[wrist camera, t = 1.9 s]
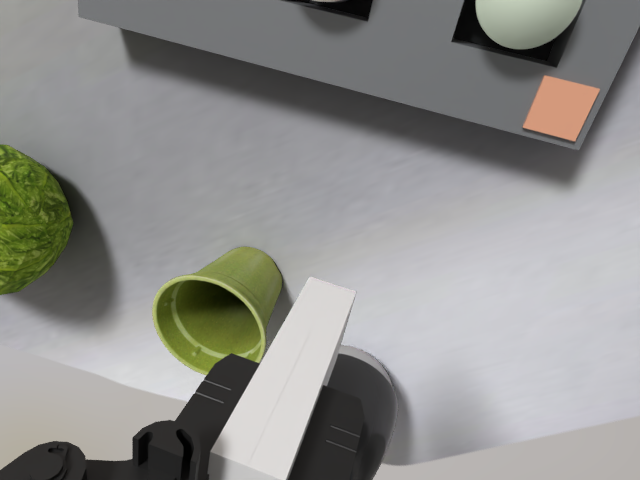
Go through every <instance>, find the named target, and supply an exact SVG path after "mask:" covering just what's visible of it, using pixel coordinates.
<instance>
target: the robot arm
mask: <svg viewBox="0 0 640 480" xmlns="http://www.w3.org/2000/svg"><path fill="white" fill-rule="evenodd" d="M355 295H356V291H353V290H350V289H346V288H343V287H340V286H337V285H334V284H331V283H328V282H325V281H322V280H319V279H316V278H313V277H309V279H308V280H307V282H306V284H305V286H304V287H303V289H302V291H301V293H300V294H299V296H298V298H297V300H296V302H295V303H294V305H293V307H292V309H291V310H290V312H289V314H288V316H287V317H286V319H285V321H284V323H283V324H282V326H281V328H280V330H279V331H278V333H277V335H276V337H275V338H274V340H273V342H272V344H271V346H270V347H269V349H268V351H267V353H266V354H265V356H264V358H263V360H262V361H261V363H257V362H255V361H252V360H249V359H246V358H244V357H241V356H238V355H235V354H233V353H231V354H229V355H227V356H226V357H224V358H223V359H221V360H220V361H218V362H216V363H215V364H214V366H213V367H212V368H211V370H210V371H209V373H208V374H207V376H206V377H205V379H204V381H202V383H201V384H200V386H199V387H198V389H197V390H196V392H195V394H193V396H192V397H191V399H190V400H189V402H188V403H187V404H186V406H185V408H184V409H183V410H182V412H181V413H180V415H179V416H178V417H177V419H176V420H175V421H171V420H168V421H160V422H155V423H153V424H151V425H148V426H146V427H144V428H142V429H141V430H140V431H139V432H138V433H137V434H136V435H135V436H134V437H133V459H131V460H127V461H102V460H85V455H84V454H83V452H82V451H81V450H80V449H79V447H77V446H75V445H73V444H71V443H69V442H58V441H53V442H49V443H45V444H41V445H38V446H36V447H34V448H33V449H31V450H29V451H27V452H25V453H24V454H22V455H21V456H19V457H18V458H17V459H15V460H14V461H12V462H11V463H10V464H8V465H7V466H5V467H4V468H3V469H1V470H0V480H350V476H351V472H352V468H353V463H354V459H355V455H356V451H357V447H358V443H359V438H360V434H361V430H362V426H363V422H364V418H365V416H364V412H363V407H362V403H361V398H358V397H355V396H352V395H349V394H347V393H344V392H341V391H338V390H336V389H333V388H330V387H327V384H328V382H329V379H330V376H331V373H332V370H333V368H334V365H335V362H336V359H337V356H338V353H339V349H340V346H341V343H342V339H343V336H344V332H345V329H346V326H347V322H348V319H349V315H350V312H351V309H352V305H353V302H354V298H355Z"/></svg>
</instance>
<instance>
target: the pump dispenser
mask: <svg viewBox="0 0 640 480" xmlns="http://www.w3.org/2000/svg"><path fill="white" fill-rule="evenodd" d="M327 387H330V388H333V389H336V390H338V391H341V392H344V393H347V394H349V395H352V396H355V397H358V398H361V403H362V407H363V412H364V416H365V418H364V422H363V426H362V430H361V434H360V438H359V443H358V447H357V451H356V455H355V459H354V463H353V468H352V472H351V476H350V480H372V479H373V477H374V476H375V474H376V472H377V470H378V468H379V467H380V465H381V463H382V460H383V458H384V456H385V454H386V451H387V449H388V446H389V443H390V440H391V438H392V435H393V432H394V429H395V425H396V421H397V415H398V401H397V397H396V394H395V391H394V389H393V386H392V383H391V380H390V378H389V376H388V374H387V372H386V371H385V369H384V368H383V366H382V365H381V364H380V363H379V362H378V361H377V360H376V359H375V358H374V357H372V356H371V355H370V354H368V353H366V352H364V351H362V350H360V349H357V348H355V347H351V346H344V345H341V346H340V349H339V353H338V356H337V359H336V362H335V365H334V368H333V370H332V373H331V376H330V379H329V382H328V384H327Z"/></svg>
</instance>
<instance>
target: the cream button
mask: <svg viewBox="0 0 640 480" xmlns="http://www.w3.org/2000/svg"><path fill="white" fill-rule="evenodd" d="M312 1H318V2H345V1H348V0H312Z"/></svg>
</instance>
